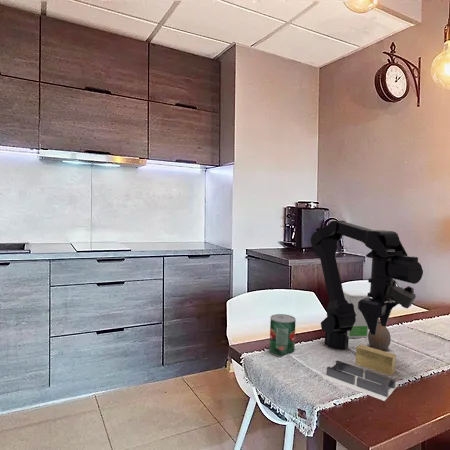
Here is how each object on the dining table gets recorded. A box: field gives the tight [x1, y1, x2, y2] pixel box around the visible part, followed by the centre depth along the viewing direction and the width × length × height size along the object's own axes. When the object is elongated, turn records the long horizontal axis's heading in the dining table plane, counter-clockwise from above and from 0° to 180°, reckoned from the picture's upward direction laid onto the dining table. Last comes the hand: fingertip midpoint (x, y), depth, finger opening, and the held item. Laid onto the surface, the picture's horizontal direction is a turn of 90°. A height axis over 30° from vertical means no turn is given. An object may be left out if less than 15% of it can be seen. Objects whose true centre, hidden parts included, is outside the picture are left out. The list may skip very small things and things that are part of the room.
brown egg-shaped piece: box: [367, 320, 392, 351], centre depth 119 cm, size 7×7×9 cm
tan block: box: [355, 344, 397, 376], centre depth 102 cm, size 10×3×6 cm, turn 48°
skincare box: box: [343, 290, 371, 339], centre depth 130 cm, size 8×7×16 cm
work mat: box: [321, 371, 400, 402], centre depth 94 cm, size 16×11×1 cm
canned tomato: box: [268, 313, 297, 358], centre depth 113 cm, size 8×8×11 cm
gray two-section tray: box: [325, 360, 397, 397], centre depth 94 cm, size 16×6×2 cm, turn 48°
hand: (378, 330), depth 102 cm, fingers open, 9 cm apart
